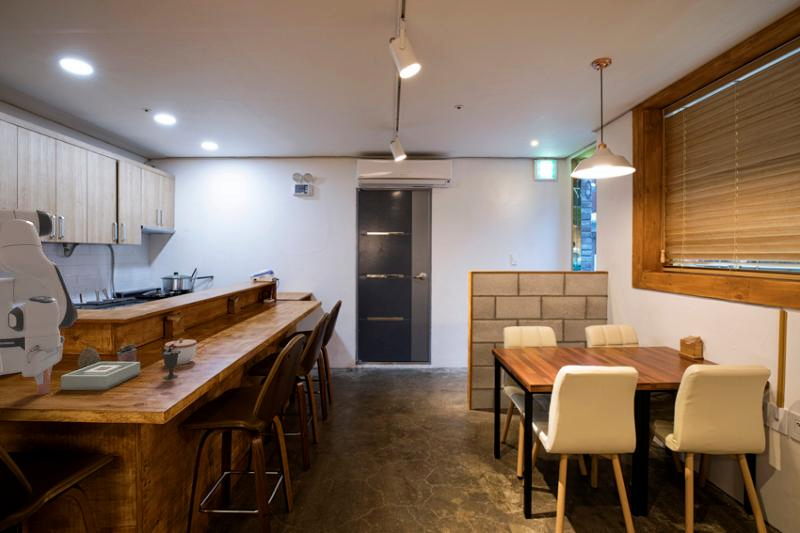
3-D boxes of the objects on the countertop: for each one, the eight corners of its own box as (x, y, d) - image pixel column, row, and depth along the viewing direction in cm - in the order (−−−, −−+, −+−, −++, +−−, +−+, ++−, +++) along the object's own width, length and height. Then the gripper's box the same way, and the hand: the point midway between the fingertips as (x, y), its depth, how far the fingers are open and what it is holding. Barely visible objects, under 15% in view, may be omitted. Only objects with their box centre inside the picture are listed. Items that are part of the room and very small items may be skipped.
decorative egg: (102, 370, 155) (102, 346, 154) (81, 374, 149) (80, 350, 148) (96, 367, 158) (96, 344, 158) (75, 371, 152) (74, 347, 152)
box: (61, 389, 132) (61, 375, 132) (100, 373, 150) (100, 361, 150) (106, 389, 132) (106, 376, 132) (140, 373, 150) (140, 361, 150)
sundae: (184, 376, 148) (184, 339, 147) (166, 381, 142) (166, 343, 142) (175, 373, 151) (175, 337, 151) (157, 378, 145) (157, 341, 145)
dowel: (34, 394, 126) (34, 366, 126) (43, 391, 130) (42, 363, 129) (43, 394, 127) (43, 366, 126) (52, 391, 130) (52, 363, 130)
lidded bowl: (174, 358, 173) (174, 335, 173) (201, 358, 174) (201, 335, 174) (158, 366, 161) (158, 341, 160) (188, 366, 161) (188, 341, 161)
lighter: (121, 371, 154) (121, 347, 153) (115, 370, 154) (114, 347, 154) (138, 365, 161) (138, 343, 161) (132, 364, 162) (132, 342, 162)
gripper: (40, 348, 120) (41, 390, 120) (66, 336, 138) (66, 372, 138) (14, 350, 117) (15, 393, 117) (44, 337, 135) (44, 374, 136)
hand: (43, 381), depth 128 cm, fingers closed on dowel, 3 cm apart
